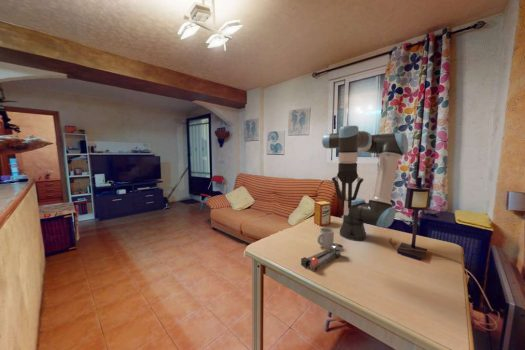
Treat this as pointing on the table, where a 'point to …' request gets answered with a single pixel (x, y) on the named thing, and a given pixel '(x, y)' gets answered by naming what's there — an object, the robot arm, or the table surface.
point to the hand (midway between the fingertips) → (346, 214)
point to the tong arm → (325, 257)
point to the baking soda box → (322, 213)
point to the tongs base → (307, 261)
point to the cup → (326, 237)
